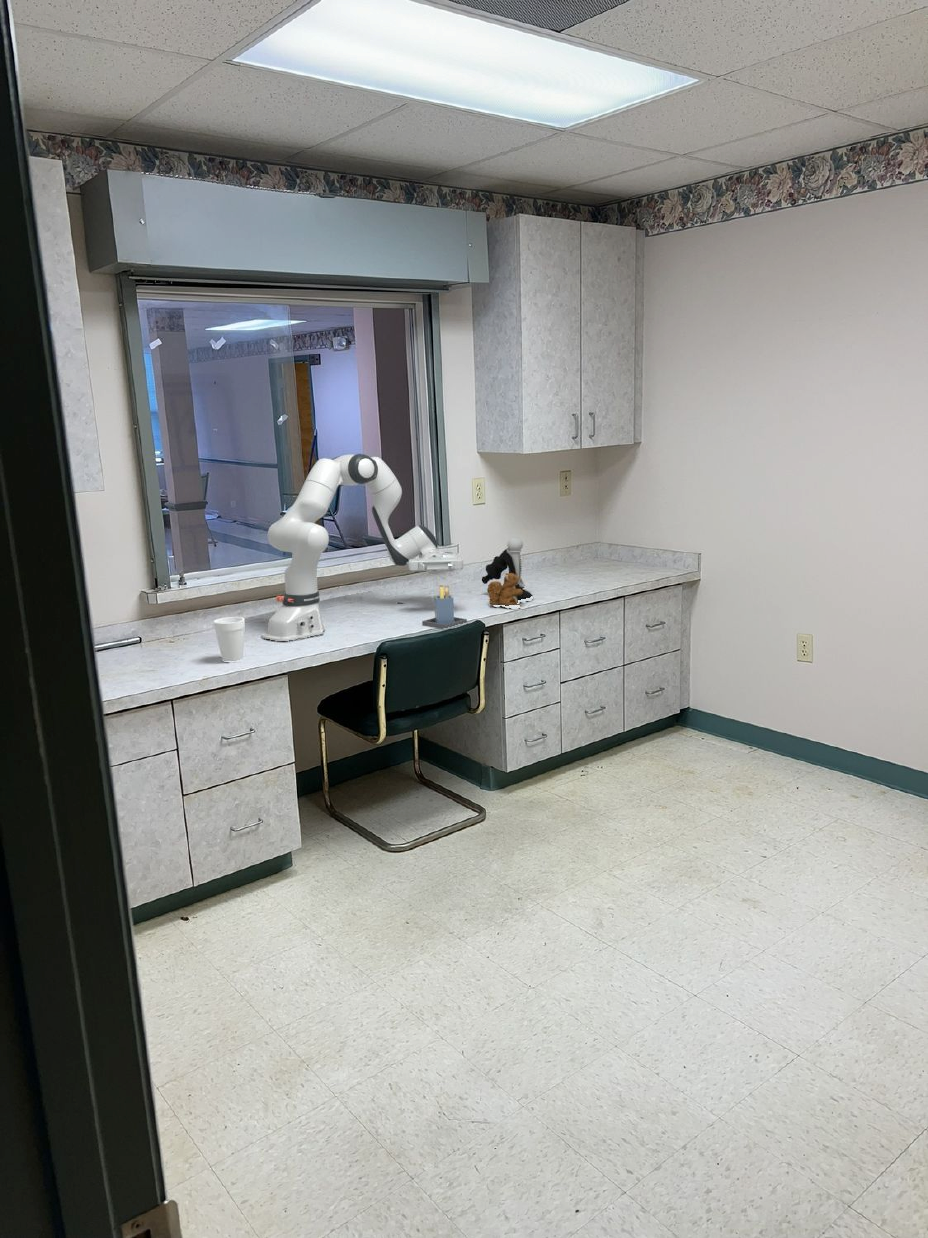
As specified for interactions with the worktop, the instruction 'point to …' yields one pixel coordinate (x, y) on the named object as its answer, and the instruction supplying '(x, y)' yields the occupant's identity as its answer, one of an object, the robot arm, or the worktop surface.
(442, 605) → the pencil cup
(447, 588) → the wooden peg
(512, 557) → the sculpture
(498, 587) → the stuffed squirrel
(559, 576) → the worktop surface
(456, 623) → the gray square frame
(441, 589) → the mustard peg
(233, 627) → the foam cup
